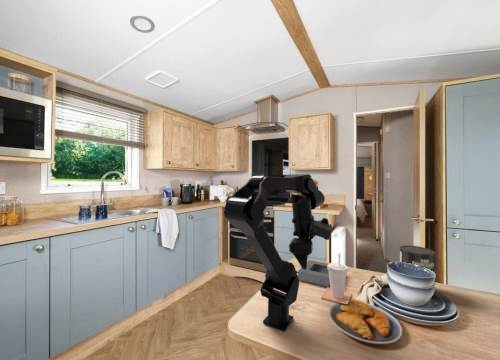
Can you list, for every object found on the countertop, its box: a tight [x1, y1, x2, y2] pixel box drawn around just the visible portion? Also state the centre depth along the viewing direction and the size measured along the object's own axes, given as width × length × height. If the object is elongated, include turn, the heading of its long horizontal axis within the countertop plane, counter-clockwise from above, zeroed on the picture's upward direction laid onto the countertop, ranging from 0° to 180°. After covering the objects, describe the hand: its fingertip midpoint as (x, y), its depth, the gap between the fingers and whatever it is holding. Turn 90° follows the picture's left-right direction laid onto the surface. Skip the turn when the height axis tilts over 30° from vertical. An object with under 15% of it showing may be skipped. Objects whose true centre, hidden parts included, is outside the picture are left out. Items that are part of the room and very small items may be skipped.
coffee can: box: [399, 245, 437, 274], centre depth 81 cm, size 10×10×14 cm
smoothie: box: [327, 252, 349, 299], centre depth 75 cm, size 6×6×14 cm
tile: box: [320, 287, 353, 304], centre depth 76 cm, size 8×8×1 cm
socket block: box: [297, 259, 330, 288], centre depth 90 cm, size 14×14×4 cm
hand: (306, 261), depth 73 cm, fingers open, 9 cm apart
